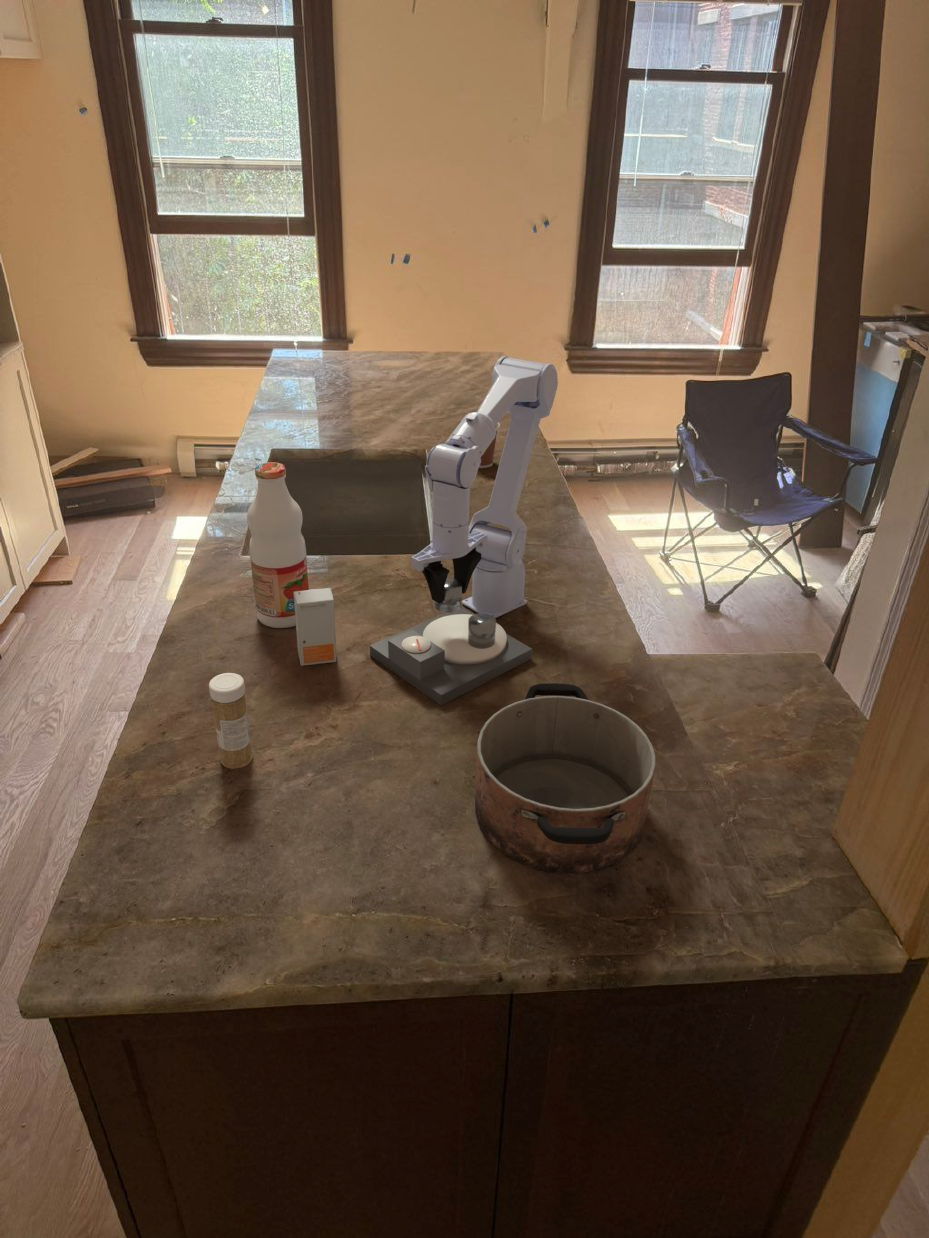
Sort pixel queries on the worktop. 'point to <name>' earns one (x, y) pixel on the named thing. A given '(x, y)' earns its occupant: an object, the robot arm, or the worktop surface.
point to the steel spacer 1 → (451, 596)
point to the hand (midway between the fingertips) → (449, 595)
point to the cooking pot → (563, 781)
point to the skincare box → (315, 626)
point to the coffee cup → (489, 452)
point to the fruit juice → (276, 548)
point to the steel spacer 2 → (481, 631)
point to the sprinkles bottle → (231, 720)
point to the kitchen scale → (448, 656)
